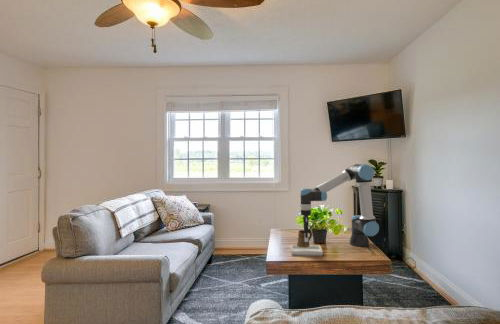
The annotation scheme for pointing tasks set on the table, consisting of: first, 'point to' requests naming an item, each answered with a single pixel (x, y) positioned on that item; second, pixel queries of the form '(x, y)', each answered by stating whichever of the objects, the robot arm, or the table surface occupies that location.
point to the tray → (307, 250)
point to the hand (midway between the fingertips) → (306, 240)
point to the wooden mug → (301, 239)
